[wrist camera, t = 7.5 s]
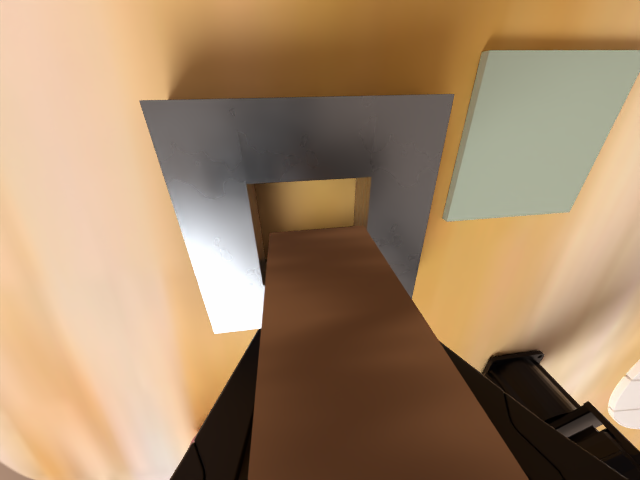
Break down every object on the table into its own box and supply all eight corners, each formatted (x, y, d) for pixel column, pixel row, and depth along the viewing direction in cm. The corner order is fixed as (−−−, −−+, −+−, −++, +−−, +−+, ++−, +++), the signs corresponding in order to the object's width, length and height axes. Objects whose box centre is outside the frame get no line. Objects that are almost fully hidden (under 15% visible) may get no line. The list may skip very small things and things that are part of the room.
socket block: (423, 95, 15) (454, 94, 12) (393, 285, 21) (409, 311, 19) (167, 100, 13) (139, 100, 10) (223, 303, 20) (214, 333, 17)
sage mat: (637, 51, 15) (650, 50, 14) (561, 209, 20) (569, 212, 19) (481, 52, 14) (489, 50, 13) (442, 218, 19) (446, 221, 18)
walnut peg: (363, 225, 11) (685, 720, 2) (358, 296, 13) (518, 707, 4) (269, 232, 10) (211, 878, 2) (279, 304, 12) (273, 781, 4)
